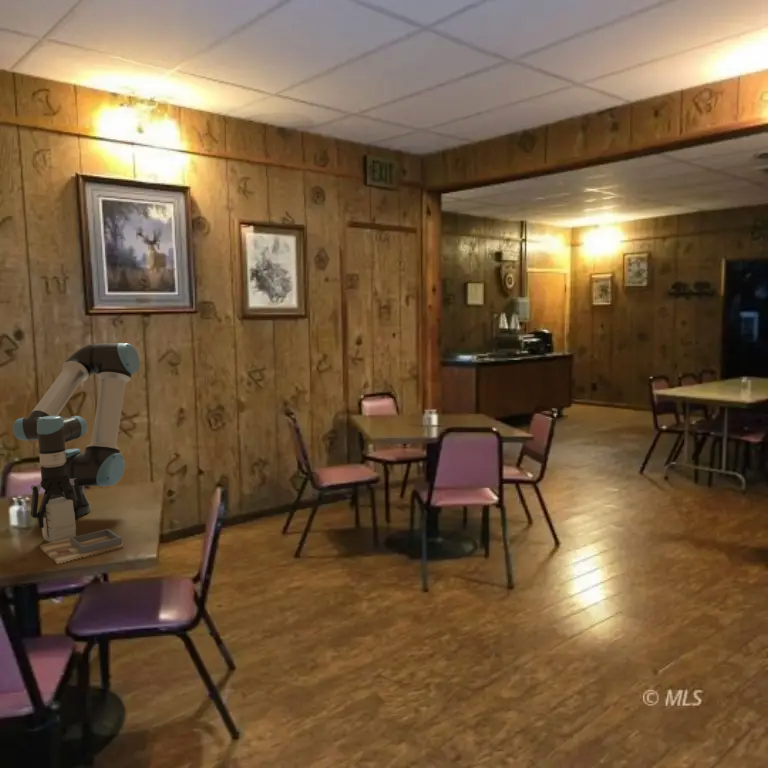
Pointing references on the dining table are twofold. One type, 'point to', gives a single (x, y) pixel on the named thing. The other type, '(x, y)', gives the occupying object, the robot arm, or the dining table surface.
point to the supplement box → (59, 519)
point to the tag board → (72, 549)
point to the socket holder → (99, 545)
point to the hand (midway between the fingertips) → (59, 533)
